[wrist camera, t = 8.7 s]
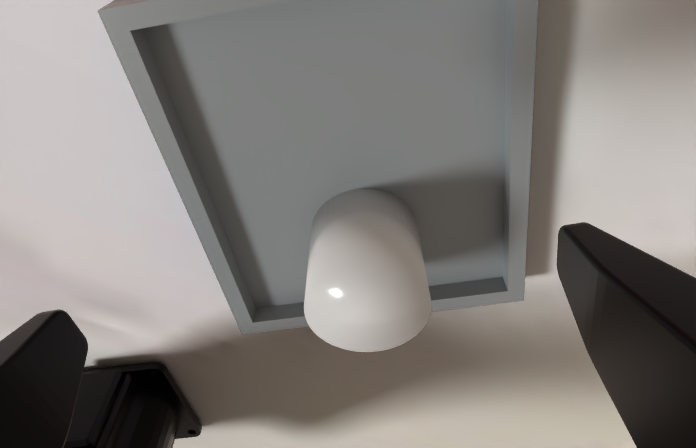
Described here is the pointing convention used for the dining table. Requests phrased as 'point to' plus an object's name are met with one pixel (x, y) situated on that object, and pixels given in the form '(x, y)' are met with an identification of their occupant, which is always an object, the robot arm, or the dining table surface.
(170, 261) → the dining table surface
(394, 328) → the pebble grey
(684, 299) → the robot arm
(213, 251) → the parts tray
